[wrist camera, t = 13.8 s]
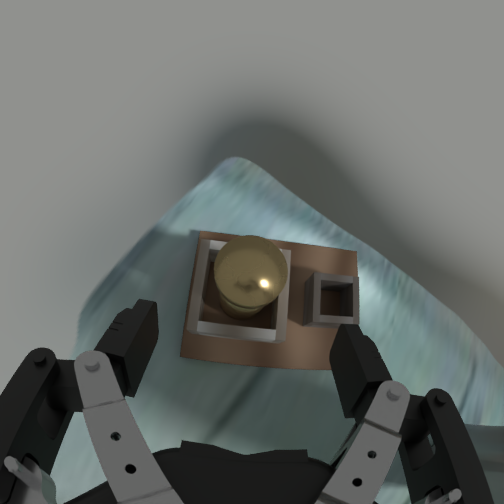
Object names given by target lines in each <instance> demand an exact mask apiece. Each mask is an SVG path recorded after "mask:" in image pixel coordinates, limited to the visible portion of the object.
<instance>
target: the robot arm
mask: <svg viewBox="0 0 504 504" xmlns="http://www.w3.org/2000/svg"><path fill="white" fill-rule="evenodd" d="M158 334H159V328H158V314H157V303H156V302H154V301H148V300H143V299H139V300H138V301H137V302H136V304H135V305H134V307H133V309H129V308H126V309H124V310H123V311H121V312H120V313H118V314H117V316H116V317H115V319H114V320H113V323H111V325H110V326H109V329H107V331H106V332H105V334H104V335H103V337H102V338H101V340H100V341H99V343H98V344H97V346H96V347H95V349H94V350H93V351H86V352H84V353H82V354H80V355H79V356H78V357H77V358H76V360H59V359H56V357H55V354H54V352H53V351H52V350H50V349H48V348H37V349H34V350H32V351H31V352H30V353H29V354H28V355H27V356H26V357H25V359H24V360H23V362H22V363H21V365H20V366H19V368H18V369H17V370H16V372H15V374H14V375H13V377H12V378H11V380H10V381H9V383H8V384H7V386H6V388H5V389H4V391H3V392H2V394H1V395H0V504H57V502H56V486H55V483H54V481H53V479H52V478H51V477H50V473H51V470H52V468H53V465H54V462H55V459H56V456H57V454H58V451H59V448H60V446H61V443H62V440H63V438H64V435H65V433H66V430H67V428H68V426H69V423H70V421H71V418H72V416H73V414H74V412H83V415H84V418H85V422H86V425H87V428H88V431H89V434H90V437H91V440H92V443H93V446H94V449H95V451H96V454H97V457H98V459H99V462H100V464H101V467H102V469H103V471H104V474H105V476H106V478H107V481H106V482H104V483H102V484H100V485H99V486H97V487H95V488H93V489H91V490H89V491H87V492H86V493H84V494H82V495H80V496H78V497H76V498H74V499H72V500H70V501H68V502H66V503H64V504H378V503H377V502H375V501H374V500H375V498H376V496H377V494H378V492H379V490H380V488H381V486H382V484H383V482H384V480H385V478H386V475H387V473H388V471H389V469H390V466H391V464H392V462H393V459H394V457H395V454H396V452H397V449H398V450H399V454H400V457H401V461H402V465H403V469H404V473H405V477H406V481H407V486H408V490H409V494H410V499H411V504H504V426H484V425H471V424H464V423H463V420H462V418H461V416H460V414H459V412H458V410H457V408H456V406H455V404H454V402H453V400H452V398H451V396H450V395H449V394H448V393H447V392H446V391H444V390H442V389H438V388H434V389H431V390H430V391H429V392H428V393H427V394H426V396H425V397H424V396H417V395H411V394H409V391H408V389H407V388H406V387H405V386H404V385H403V384H401V383H399V382H396V381H393V380H392V378H391V376H390V373H389V371H388V369H387V367H386V365H385V363H384V361H383V359H381V358H382V357H381V355H380V353H379V352H378V349H377V347H376V345H375V343H374V342H373V341H372V340H371V339H370V338H369V337H368V336H366V335H363V333H362V331H361V329H360V327H359V325H357V324H341V325H340V326H339V328H338V331H337V334H336V336H335V339H334V342H333V344H332V347H331V349H330V354H329V361H330V365H331V369H332V372H333V376H334V379H335V383H336V387H337V390H338V394H339V397H340V401H341V405H342V409H343V412H344V416H345V418H355V421H356V422H355V424H354V425H353V427H352V428H351V430H350V432H349V434H348V435H347V437H346V439H345V440H344V442H343V444H342V445H341V447H340V448H339V450H338V452H337V453H336V455H335V456H334V458H333V459H332V460H331V461H330V463H329V464H327V463H325V462H322V461H320V460H317V459H314V458H310V457H308V454H307V449H306V450H273V451H268V452H262V453H256V454H250V455H243V454H239V453H236V452H232V451H229V450H226V449H223V448H220V447H217V446H214V445H209V444H202V443H195V442H189V441H183V440H182V442H181V447H180V448H169V449H164V450H160V451H157V452H155V453H151V451H150V449H149V448H148V446H147V444H146V442H145V440H144V438H143V436H142V434H141V432H140V430H139V428H138V426H137V424H136V422H135V420H134V418H133V415H132V413H131V411H130V409H129V406H128V404H127V402H126V400H125V399H124V398H125V395H126V396H129V397H133V398H134V397H135V394H136V392H137V389H138V387H139V384H140V382H141V379H142V377H143V374H144V372H145V369H146V367H147V365H148V362H149V360H150V358H151V355H152V353H153V350H154V348H155V346H156V343H157V340H158ZM429 434H431V436H432V439H433V442H434V445H433V447H432V448H431V445H430V442H429V440H428V437H427V436H428V435H429Z"/></svg>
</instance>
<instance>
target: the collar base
mask: <svg viewBox="0 0 504 504" xmlns="http://www.w3.org/2000/svg"><path fill="white" fill-rule="evenodd" d="M237 237H240V236H238V235H230V234H222V233H214V232H206V231H200V235H199V241H198V246H197V251H196V257H195V262H194V268H193V273H192V279H191V285H190V291H189V297H188V304H187V310H186V317H185V323H184V330H183V337H182V345H181V352H180V357H185V358H191V359H198V360H205V361H212V362H220V363H228V364H237V365H246V366H257V367H270V368H285V369H308V370H332V369H331V365H330V361H329V354H330V349H331V347H332V344H333V342H334V339H335V336H336V334H337V331H338V328H339V326H340V325H341V324H357V325H358V324H359V277H358V269H357V251H350V250H343V249H336V248H329V247H321V246H314V245H307V244H300V243H292V242H285V241H277V240H269V239H267V240H269V241H271V242H272V243H274V244H275V245H276V246H277V247H278V248H279V249H280V250H281V252H282V253H283V255H284V257H285V259H286V262H287V267H288V277H287V281H286V284H285V286H284V288H283V290H282V291H281V293H280V294H279V295H278V296H277V297H276V299H274V300H273V301H272V302H271V303H269V304H268V305H266V306H264V307H263V308H262V310H261V311H260V312H259V313H258V314H257V315H256V316H255V317H253V318H251V319H248V320H236V319H233V318H231V317H229V316H228V315H227V314H226V313H225V312H224V311H223V309H222V308H221V305H220V301H219V290H218V288H217V286H216V283H215V278H214V263H215V259H216V257H217V254H218V253H219V251H220V250H221V248H222V247H223V246H224V245H225V244H226V243H228V242H229V241H231V240H232V239H235V238H237Z"/></svg>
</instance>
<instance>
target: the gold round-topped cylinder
mask: <svg viewBox="0 0 504 504" xmlns="http://www.w3.org/2000/svg"><path fill="white" fill-rule="evenodd" d="M287 277H288V267H287V262H286V259H285V257H284V255H283V253H282V252H281V250H280V249H279V248H278V247H277V246H276V245H275V244H274V243H272V242H271V241H269V240H267V239H265V238H262V237H259V236H253V235H246V236H240V237H237V238H235V239H232V240H231V241H229V242H228V243H226V244H225V245H224V246H223V247H222V248H221V250H220V251H219V253H218V254H217V257H216V259H215V263H214V278H215V283H216V286H217V288H218V290H219V301H220V305H221V308H222V309H223V311H224V312H225V313H226V314H227V315H228V316H229V317H231V318H233V319H236V320H248V319H251V318H253V317H255V316H256V315H257V314H258V313H259V312H260V311H261V310H262V308H263V307H264V306H266V305H268V304H269V303H271V302H272V301H273V300H274V299H276V297H277V296H278V295H279V294H280V293H281V291H282V290H283V288H284V286H285V284H286V281H287Z"/></svg>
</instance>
